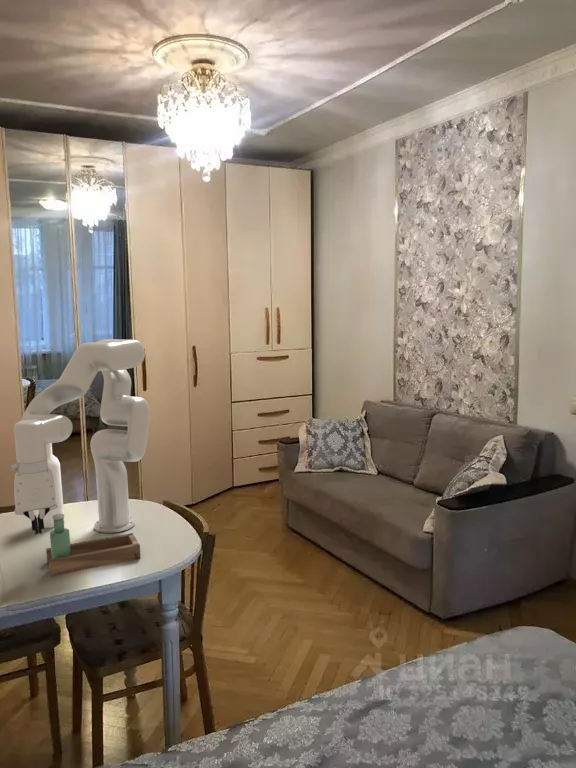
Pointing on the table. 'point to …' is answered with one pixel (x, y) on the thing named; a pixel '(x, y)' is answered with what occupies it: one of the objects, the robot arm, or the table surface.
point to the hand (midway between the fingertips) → (38, 532)
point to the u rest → (95, 554)
